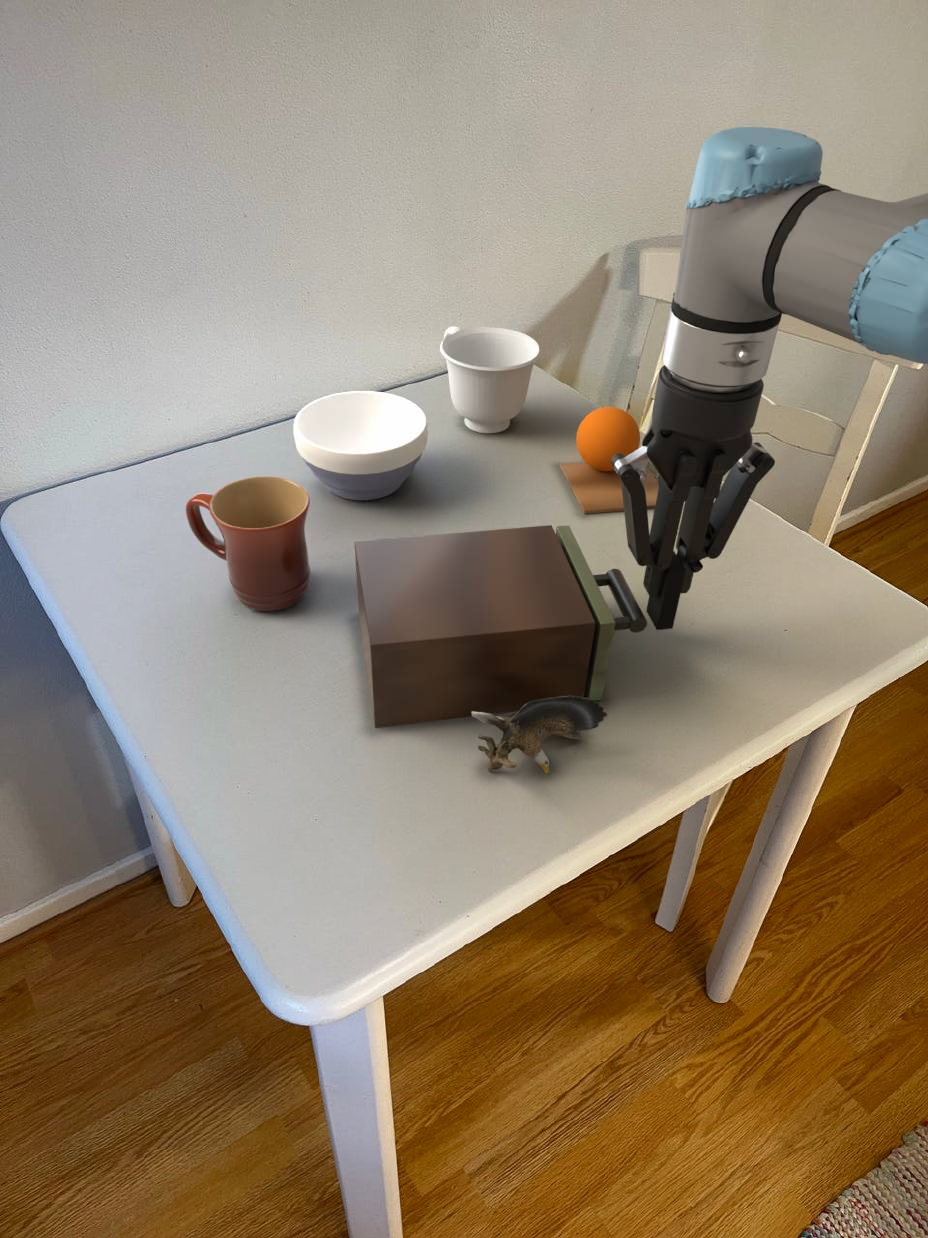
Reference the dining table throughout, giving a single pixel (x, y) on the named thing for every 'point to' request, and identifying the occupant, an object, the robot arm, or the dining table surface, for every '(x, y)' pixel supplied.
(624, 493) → the robot arm
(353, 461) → the bowl
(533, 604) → the cabinet
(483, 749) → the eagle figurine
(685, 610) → the dining table surface
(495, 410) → the teacup
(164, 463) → the dining table surface
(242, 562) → the mug
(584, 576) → the drawer
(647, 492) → the coaster
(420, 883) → the dining table surface
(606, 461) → the orange
